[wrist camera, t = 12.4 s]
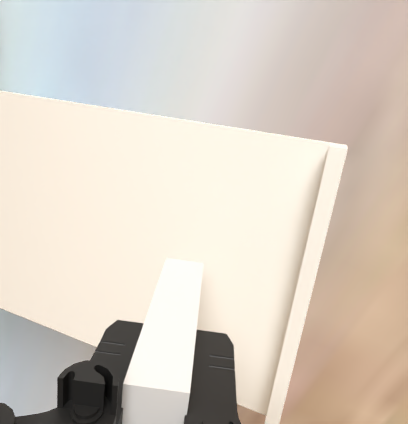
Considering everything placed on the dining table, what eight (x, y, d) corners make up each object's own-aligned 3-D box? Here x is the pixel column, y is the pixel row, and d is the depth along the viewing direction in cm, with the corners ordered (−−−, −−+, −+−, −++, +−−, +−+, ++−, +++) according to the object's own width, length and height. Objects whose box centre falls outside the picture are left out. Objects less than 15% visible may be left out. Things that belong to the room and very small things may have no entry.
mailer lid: (347, 149, 12) (347, 145, 14) (-127, 73, 20) (-85, 77, 22) (273, 446, 16) (281, 411, 18) (-97, 287, 24) (-64, 275, 26)
